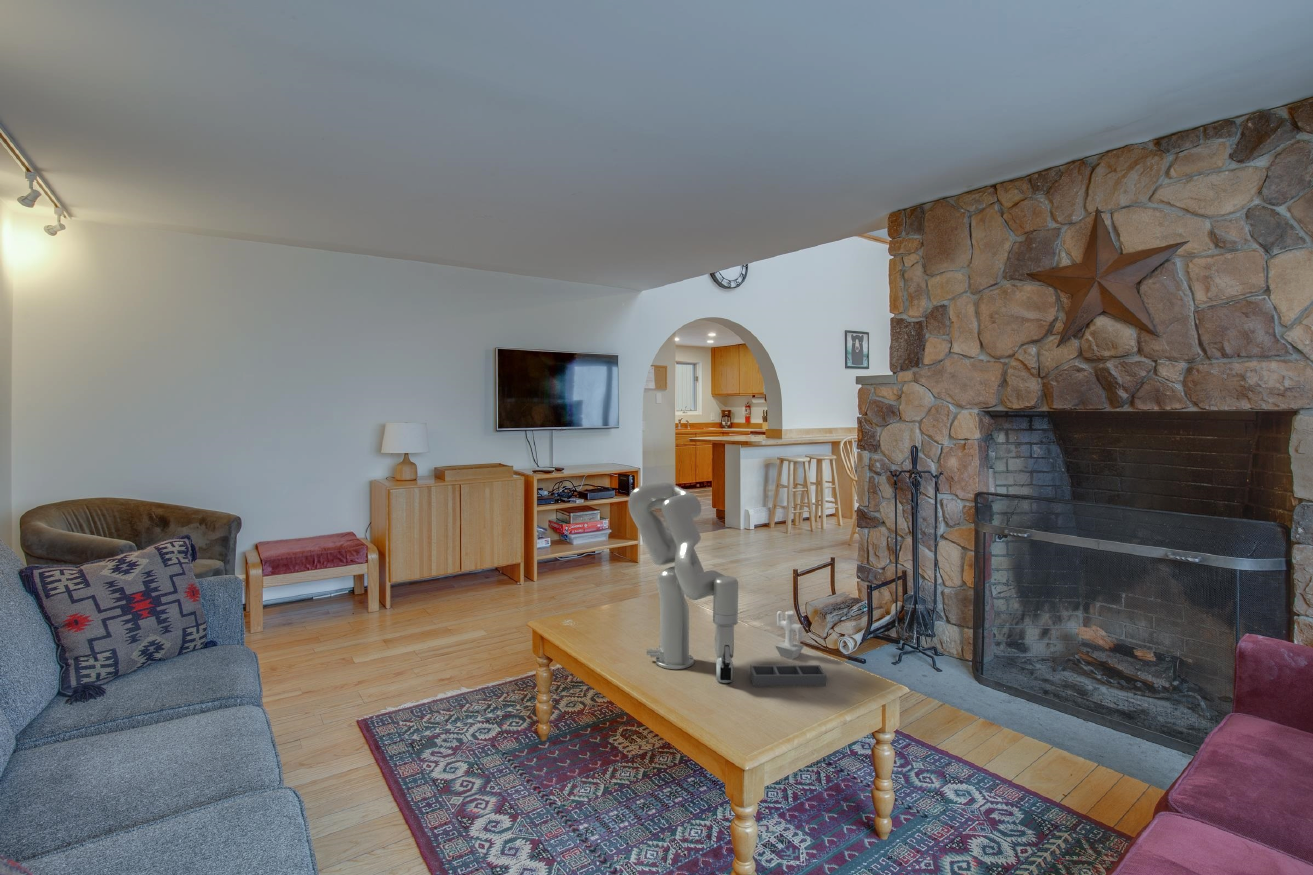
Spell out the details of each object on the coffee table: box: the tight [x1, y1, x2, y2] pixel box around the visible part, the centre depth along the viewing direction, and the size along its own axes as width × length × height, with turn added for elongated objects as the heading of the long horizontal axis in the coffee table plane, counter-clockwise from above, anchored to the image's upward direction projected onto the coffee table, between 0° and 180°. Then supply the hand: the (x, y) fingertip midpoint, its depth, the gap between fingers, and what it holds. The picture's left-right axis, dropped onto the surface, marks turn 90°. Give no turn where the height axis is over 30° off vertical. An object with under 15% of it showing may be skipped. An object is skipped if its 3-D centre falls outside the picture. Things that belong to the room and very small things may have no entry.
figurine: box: [774, 610, 805, 660], centre depth 217 cm, size 7×9×15 cm
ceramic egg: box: [715, 655, 734, 684], centre depth 197 cm, size 5×5×8 cm
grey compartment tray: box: [749, 664, 828, 688], centre depth 197 cm, size 22×8×3 cm, turn 91°
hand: (724, 675), depth 198 cm, fingers closed on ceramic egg, 5 cm apart
